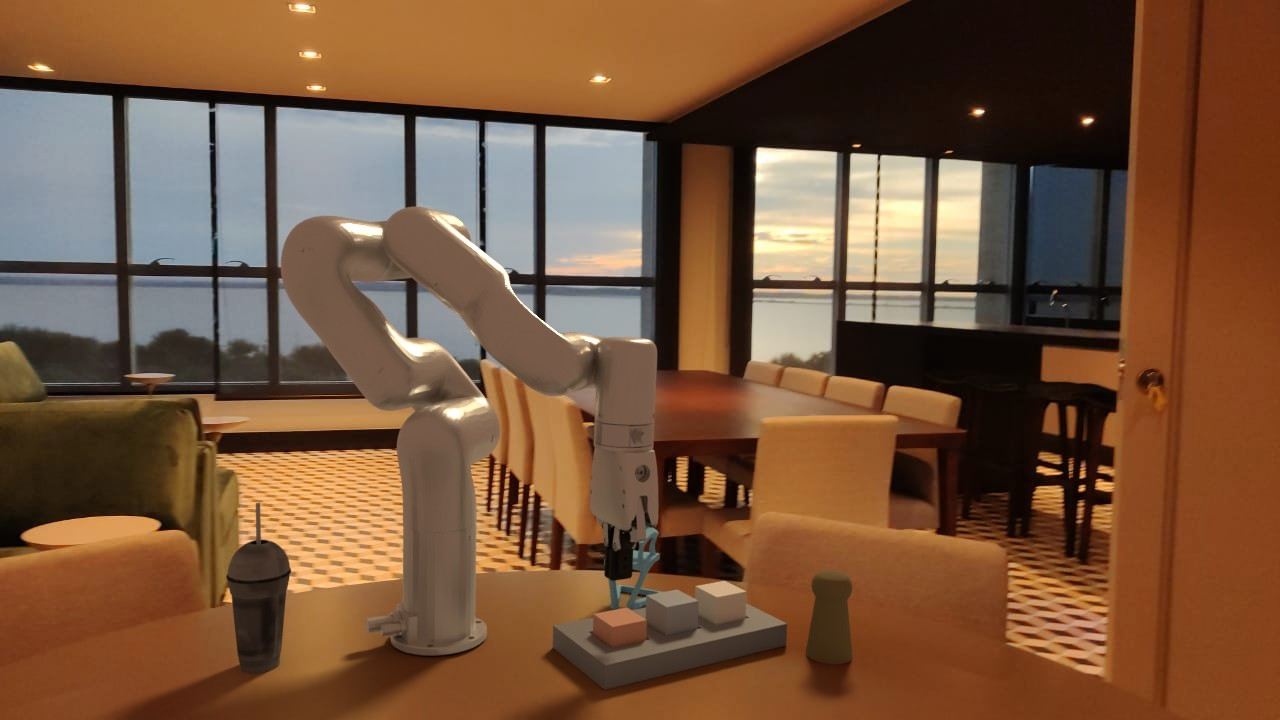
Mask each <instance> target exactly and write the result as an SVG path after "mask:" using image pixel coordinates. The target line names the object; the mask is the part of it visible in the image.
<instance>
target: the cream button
mask: <svg viewBox="0 0 1280 720" xmlns="http://www.w3.org/2000/svg"><path fill="white" fill-rule="evenodd" d="M694 591H695V592H694V598H695V599H696V600H698V601H699V605H698V616H700V617H702V618H704V619H706V620H707V621H709V622H711V623H713V624H714V625H718V624H723V623H727V622H732V621H736V620H741V619H746V603H747V592H748V591H746V590H745V589H742V588H740V587H738V586H737V585H734V584H732V583H730V582H728V581H726V580H721V581H715V582H710V583H705V584H699V585H695V589H694Z"/></svg>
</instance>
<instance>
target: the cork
mask: <svg viewBox="0 0 1280 720" xmlns="http://www.w3.org/2000/svg"><path fill="white" fill-rule="evenodd" d="M811 591H812V593H813V595H814V596H815V597H814V602H813V603H814V604H813V608H812V609H813V610H812V614H811V620H810V624H809V625H810V626H809V631H808V635H807V636H808V638H807V642H806V648H805V655H806V656H807V657H808V658H809V659H811V660H813V661H815V662H818V663H820V664H828V665H843V664H846V663H850V662H851V661H852V660H853V649H852V638H851V635H852V634H851V625H850V614H849V602H848V600H849V599H850V597H851V595H852V593H853V582H852V580H851V578H850V576H849V575H848V574H846V573H844V572H841V571H838V570H832V569H831V570H830V569H829V570H828V569H827V570H821V571H818V572H816V573H815V574H814V576H813V578H812V580H811Z"/></svg>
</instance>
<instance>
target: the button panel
mask: <svg viewBox="0 0 1280 720" xmlns="http://www.w3.org/2000/svg"><path fill="white" fill-rule="evenodd" d="M693 598H694V599H695V597H693ZM632 611H633V612H635V613H636V614H638V615H640V616H641V617H643V618H644V619H646V606H644V607H641V608H638V609H635V610H632ZM787 634H788V623H786V622H785V621H783V620H781V619H779V618H777V617H775V616H773V615H771V614H769V613H766V612H764V611H763V610H761V609H759V608H757V607H755V606H753V605H750V604H749V603H747V602H746V619H741V620H736V621H732V622H727V623H723V624H718V625H714V624H713V623H711V622H709V621H707V620H706V619H704V618H702V617H700V616H698V629H695V630H691V631H686V632H681V633H677V634H672V635H668V636H664V635H663V634H661V633H660V632H658V631H656V630H655V629H653V628H652V627H650V626H648V625H647V633H646V640H645V641H640V642H635V643H631V644H626V645H622V646H617V647H613V648H611V647H609V646H608V645H606V644H605V643H604V642H602V641H601V640H599V639H598V638H597V637H595V636H594V635H593V617H589V618H585V619H580V620H579V619H578V620H575V621H574V620H573V621H569V622H564V623H559V624H554V625H553V626H552V648H553V649H554V650H555V651H556V652H558V653H559V654H560V655H561V656H562V657H564V658H565V659H566V660H567V661H568V662H570V663H571V664H572V665H573V666H575V667H576V668H577V669H579V671H580V672H582V673H583V674H585V675H586V676H587V677H588V678H589V679H590V680H592V681H593V682H595V684H597V685H598V686H599V687H600V688H602V689H603V690H604V691H605V690H609V689H614V688H618V687H622V686H626V685H631V684H635V683H637V682H638V683H639V682H643V681H646V680H650V679H654V678H659V677H662V676H666V675H671V674H675V673H679V672H684V671H687V670H690V669H691V670H692V669H696V668H700V667H704V666H707V665H711V664H716V663H720V662H724V661H727V660H728V661H729V660H733V659H735V658H740V657H741V658H742V657H743V656H748V655H752V654H756V653H761V652H764V651H768V650H773V649H776V648H781V647H785V646H787V638H788V637H787Z"/></svg>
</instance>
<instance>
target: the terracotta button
mask: <svg viewBox="0 0 1280 720" xmlns="http://www.w3.org/2000/svg"><path fill="white" fill-rule="evenodd" d="M592 618H593V635H594V636H595V637H597V638H598V639H599V640H601V641H602V642H604V643H605V644H606V645H608V646H609V647H611V648H613V647H617V646H622V645H626V644H631V643H635V642H640V641H645V640H646V633H647V620H646V619H644V618H643V617H641V616H640V615H638V614H636V613H635V612H633V611H632V610H630V609H628V608H626V607H623V608H617V609H610V610H607V611H602V612H601V611H600V612H595V613H593V616H592Z"/></svg>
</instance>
